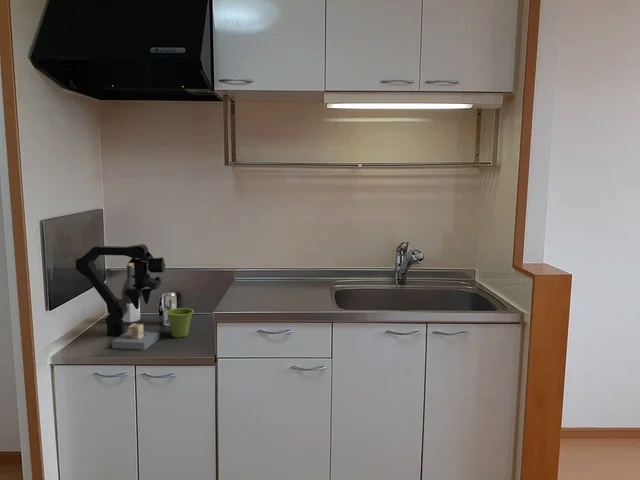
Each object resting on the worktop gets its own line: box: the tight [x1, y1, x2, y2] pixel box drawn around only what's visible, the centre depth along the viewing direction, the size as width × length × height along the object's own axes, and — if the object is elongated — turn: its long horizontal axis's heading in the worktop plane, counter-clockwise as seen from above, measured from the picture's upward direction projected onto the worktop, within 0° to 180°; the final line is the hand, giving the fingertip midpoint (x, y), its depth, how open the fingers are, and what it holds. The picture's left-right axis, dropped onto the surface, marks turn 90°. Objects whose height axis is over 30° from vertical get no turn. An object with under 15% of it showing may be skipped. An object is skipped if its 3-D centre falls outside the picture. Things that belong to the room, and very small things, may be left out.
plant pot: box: [166, 307, 194, 338], centre depth 212 cm, size 12×12×11 cm
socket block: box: [111, 330, 160, 351], centre depth 201 cm, size 14×14×3 cm
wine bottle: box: [121, 262, 141, 326], centre depth 228 cm, size 8×8×30 cm
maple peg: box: [127, 323, 144, 339], centre depth 201 cm, size 4×4×8 cm
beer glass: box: [161, 291, 178, 327], centre depth 228 cm, size 7×7×15 cm
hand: (141, 306), depth 212 cm, fingers open, 9 cm apart
